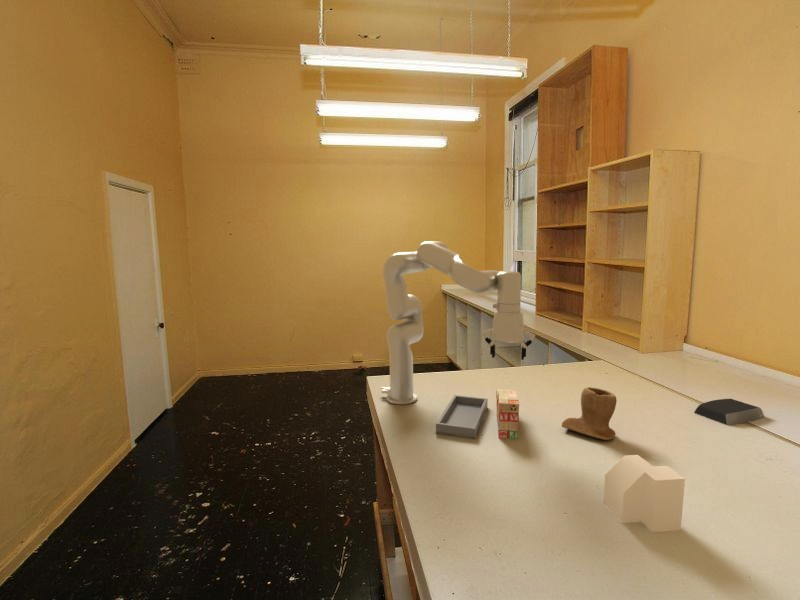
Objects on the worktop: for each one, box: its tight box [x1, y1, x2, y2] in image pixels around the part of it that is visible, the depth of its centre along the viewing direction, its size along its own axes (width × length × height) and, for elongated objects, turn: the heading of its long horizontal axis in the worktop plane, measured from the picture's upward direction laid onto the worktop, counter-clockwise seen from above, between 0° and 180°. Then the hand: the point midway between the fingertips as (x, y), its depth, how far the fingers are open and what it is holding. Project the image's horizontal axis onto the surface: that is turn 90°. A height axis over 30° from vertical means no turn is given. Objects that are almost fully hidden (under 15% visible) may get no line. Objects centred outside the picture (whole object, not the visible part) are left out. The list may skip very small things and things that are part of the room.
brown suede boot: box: [561, 386, 617, 441], centre depth 137 cm, size 15×12×15 cm
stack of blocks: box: [495, 388, 520, 440], centre depth 143 cm, size 21×6×12 cm, turn 169°
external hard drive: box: [694, 398, 765, 426], centre depth 150 cm, size 13×19×4 cm
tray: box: [435, 394, 488, 440], centre depth 149 cm, size 13×28×4 cm, turn 160°
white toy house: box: [602, 454, 686, 533], centre depth 94 cm, size 11×11×12 cm
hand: (507, 357), depth 141 cm, fingers open, 9 cm apart
